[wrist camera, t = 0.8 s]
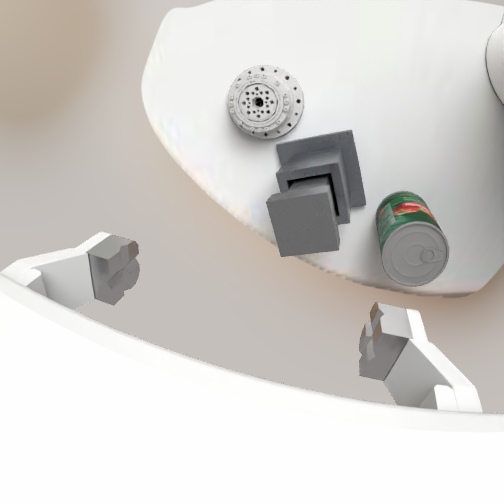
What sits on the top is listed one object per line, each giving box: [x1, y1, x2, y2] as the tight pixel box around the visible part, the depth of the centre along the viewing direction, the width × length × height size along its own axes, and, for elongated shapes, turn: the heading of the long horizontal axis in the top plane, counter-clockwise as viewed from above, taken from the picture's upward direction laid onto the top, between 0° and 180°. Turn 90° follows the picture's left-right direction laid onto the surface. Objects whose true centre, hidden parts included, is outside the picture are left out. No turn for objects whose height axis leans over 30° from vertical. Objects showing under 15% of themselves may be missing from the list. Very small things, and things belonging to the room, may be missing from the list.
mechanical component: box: [228, 65, 304, 139], centre depth 36 cm, size 10×4×10 cm
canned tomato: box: [376, 191, 449, 287], centre depth 35 cm, size 8×8×11 cm
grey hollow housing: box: [276, 130, 366, 225], centre depth 36 cm, size 10×10×12 cm
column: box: [266, 173, 340, 257], centre depth 32 cm, size 5×5×17 cm
